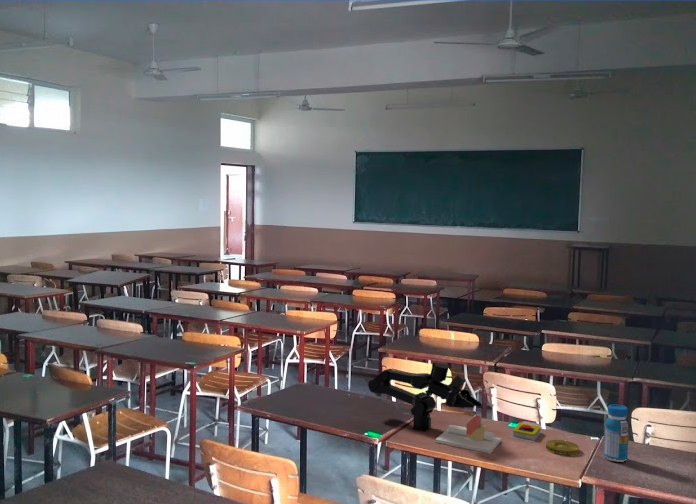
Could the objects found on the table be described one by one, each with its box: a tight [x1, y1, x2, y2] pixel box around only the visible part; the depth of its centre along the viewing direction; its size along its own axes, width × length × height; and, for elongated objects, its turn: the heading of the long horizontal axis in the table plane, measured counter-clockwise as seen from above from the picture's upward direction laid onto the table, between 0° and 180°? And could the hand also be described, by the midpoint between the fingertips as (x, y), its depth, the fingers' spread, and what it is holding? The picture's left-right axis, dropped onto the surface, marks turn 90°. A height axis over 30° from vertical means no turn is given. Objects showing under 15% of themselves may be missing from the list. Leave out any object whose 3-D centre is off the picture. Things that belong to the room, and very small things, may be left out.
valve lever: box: [466, 413, 482, 435], centre depth 245 cm, size 14×2×4 cm, turn 151°
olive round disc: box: [545, 439, 580, 457], centre depth 243 cm, size 12×12×2 cm
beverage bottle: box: [603, 403, 630, 460], centre depth 234 cm, size 8×8×20 cm
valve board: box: [435, 423, 502, 454], centre depth 249 cm, size 22×15×6 cm
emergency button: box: [510, 422, 543, 443], centre depth 259 cm, size 9×4×15 cm
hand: (477, 405), depth 249 cm, fingers open, 9 cm apart
